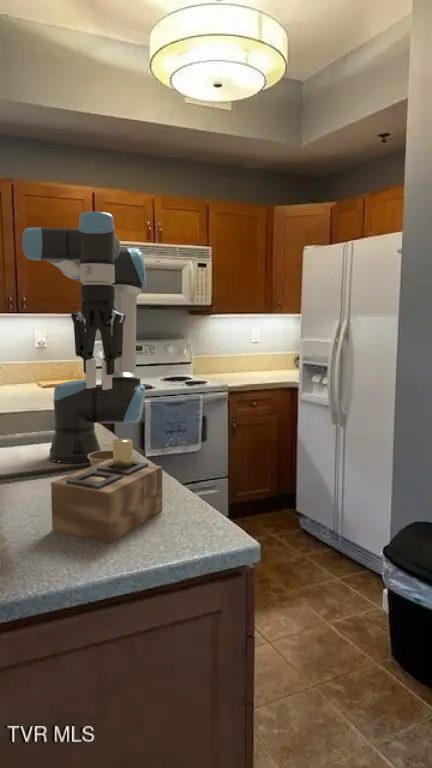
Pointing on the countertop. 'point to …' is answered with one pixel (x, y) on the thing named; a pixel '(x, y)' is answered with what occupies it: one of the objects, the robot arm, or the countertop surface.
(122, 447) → the peg
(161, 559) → the countertop surface
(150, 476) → the socket block
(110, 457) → the flower pot
